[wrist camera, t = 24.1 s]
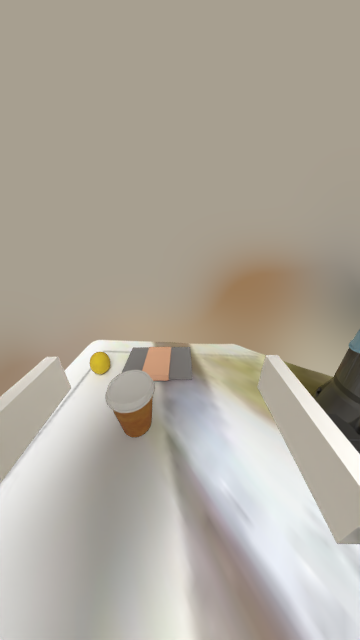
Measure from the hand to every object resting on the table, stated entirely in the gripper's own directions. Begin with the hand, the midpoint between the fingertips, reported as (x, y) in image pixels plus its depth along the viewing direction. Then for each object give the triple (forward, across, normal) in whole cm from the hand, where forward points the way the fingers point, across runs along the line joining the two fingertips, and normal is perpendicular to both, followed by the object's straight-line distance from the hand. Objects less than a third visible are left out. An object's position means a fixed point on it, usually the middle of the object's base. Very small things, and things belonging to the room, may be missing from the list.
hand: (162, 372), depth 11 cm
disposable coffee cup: (+16, -9, -30) cm, 35 cm away
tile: (+28, -7, -28) cm, 40 cm away
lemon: (+32, -24, -30) cm, 50 cm away
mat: (+37, -7, -30) cm, 48 cm away
